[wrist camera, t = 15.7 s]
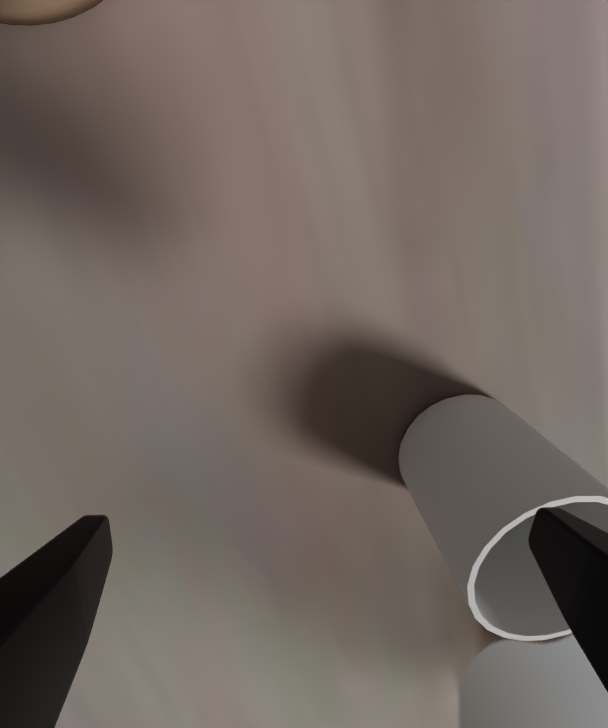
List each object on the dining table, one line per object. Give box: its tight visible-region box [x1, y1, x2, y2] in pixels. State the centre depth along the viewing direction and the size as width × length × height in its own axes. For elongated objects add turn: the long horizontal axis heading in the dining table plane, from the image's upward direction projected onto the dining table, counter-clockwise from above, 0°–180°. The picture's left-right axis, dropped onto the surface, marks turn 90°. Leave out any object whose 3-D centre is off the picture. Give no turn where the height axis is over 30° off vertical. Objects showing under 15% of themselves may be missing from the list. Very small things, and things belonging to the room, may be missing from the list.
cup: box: [398, 395, 608, 641], centre depth 20 cm, size 7×10×9 cm
